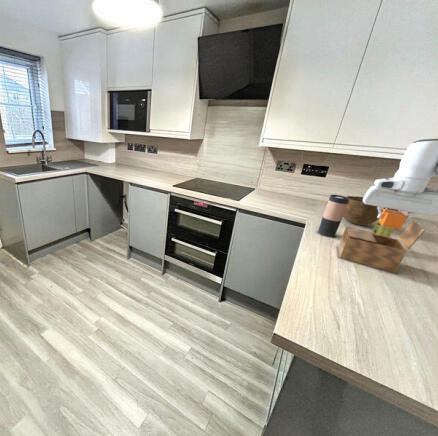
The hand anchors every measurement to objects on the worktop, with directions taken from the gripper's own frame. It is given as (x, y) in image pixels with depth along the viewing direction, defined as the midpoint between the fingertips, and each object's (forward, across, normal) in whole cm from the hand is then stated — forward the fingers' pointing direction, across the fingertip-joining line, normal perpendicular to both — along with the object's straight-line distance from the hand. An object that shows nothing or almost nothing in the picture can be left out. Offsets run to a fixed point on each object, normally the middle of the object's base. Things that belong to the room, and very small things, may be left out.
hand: (390, 220), depth 90 cm
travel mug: (+18, +15, -21) cm, 32 cm away
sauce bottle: (+18, -5, -24) cm, 31 cm away
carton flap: (+4, -7, 0) cm, 8 cm away
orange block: (+2, 0, 0) cm, 2 cm away
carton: (+18, +2, 0) cm, 18 cm away
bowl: (+18, 0, -55) cm, 58 cm away
